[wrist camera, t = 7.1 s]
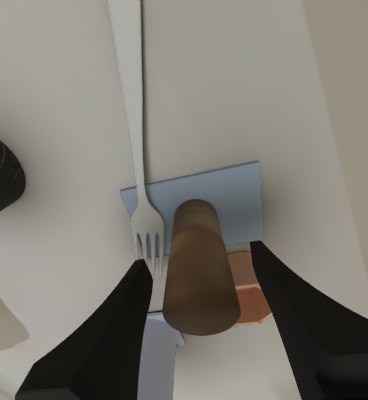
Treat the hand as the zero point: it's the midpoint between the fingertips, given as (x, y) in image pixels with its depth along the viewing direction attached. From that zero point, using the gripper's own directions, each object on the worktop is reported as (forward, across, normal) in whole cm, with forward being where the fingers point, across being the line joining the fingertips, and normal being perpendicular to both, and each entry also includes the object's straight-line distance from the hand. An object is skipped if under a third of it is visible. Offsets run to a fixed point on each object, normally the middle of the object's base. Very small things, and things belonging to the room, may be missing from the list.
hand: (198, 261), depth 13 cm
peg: (+6, 0, 0) cm, 6 cm away
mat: (+6, 0, 0) cm, 6 cm away
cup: (+6, -3, +8) cm, 11 cm away
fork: (+6, +3, -6) cm, 9 cm away
